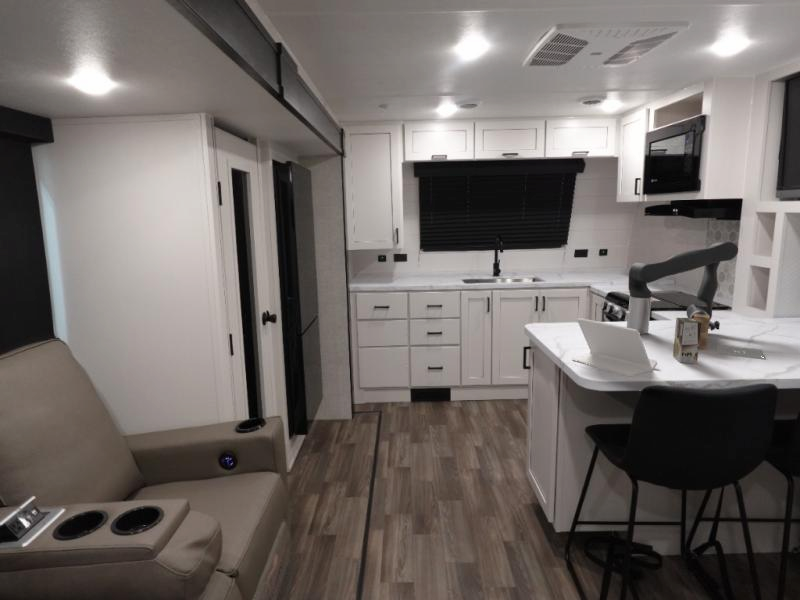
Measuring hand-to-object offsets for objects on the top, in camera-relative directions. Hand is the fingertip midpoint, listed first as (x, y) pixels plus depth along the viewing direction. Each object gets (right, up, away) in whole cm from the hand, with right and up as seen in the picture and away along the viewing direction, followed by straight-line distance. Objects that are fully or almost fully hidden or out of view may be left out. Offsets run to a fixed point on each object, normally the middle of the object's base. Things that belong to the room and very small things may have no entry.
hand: (700, 327), depth 216 cm
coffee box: (-15, -12, -16) cm, 25 cm away
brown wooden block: (0, -9, +1) cm, 9 cm away
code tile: (+13, -10, -6) cm, 18 cm away
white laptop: (-45, -13, -20) cm, 51 cm away
